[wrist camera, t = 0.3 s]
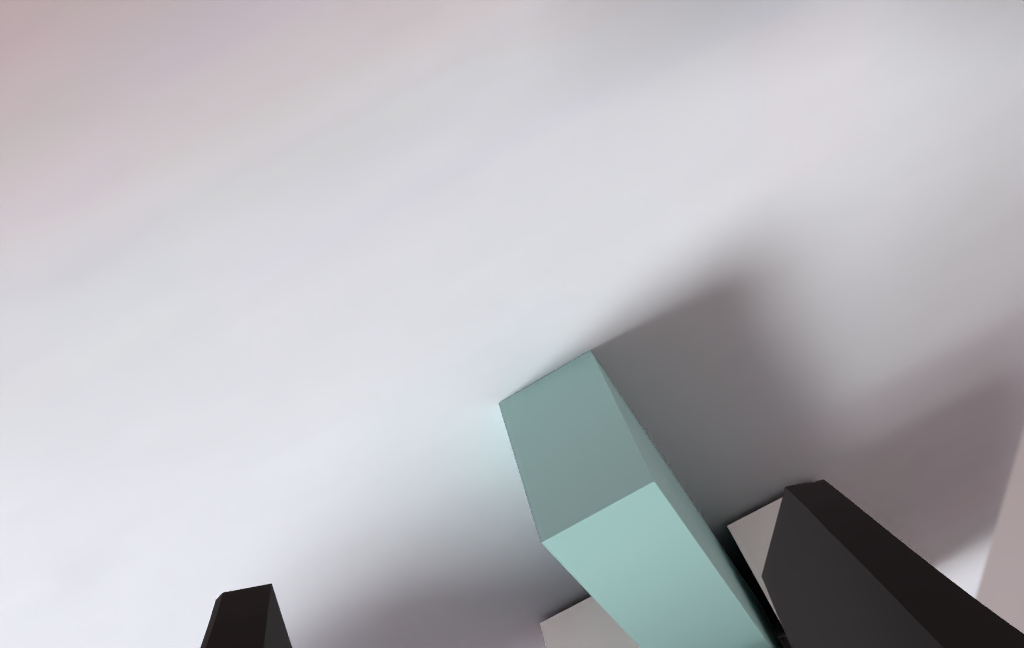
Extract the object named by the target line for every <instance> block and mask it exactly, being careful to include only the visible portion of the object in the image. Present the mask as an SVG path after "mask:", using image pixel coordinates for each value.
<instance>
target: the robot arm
mask: <svg viewBox="0 0 1024 648" xmlns="http://www.w3.org/2000/svg"><path fill="white" fill-rule="evenodd" d="M761 577H762V579H763V581H764V584H765V586H766V589H767V591H768V594H769V596H770V599H771V601H772V603H773V606H774V608H775V611H776V613H777V615H778V618H779V620H780V622H781V625H782V627H783V629H784V631H785V634H786V636H787V638H788V640H789V643H790V645H791V647H792V648H1024V634H1023V633H1022V632H1020V631H1019V630H1017V629H1016V628H1014V627H1013V626H1011V625H1010V624H1009V623H1007V622H1006V621H1005V620H1003V619H1002V618H1000V617H999V616H998V615H996V614H995V613H994V612H992V611H991V610H990V609H988V608H987V607H985V606H984V605H982V604H981V603H980V602H979V601H977V600H976V599H975V598H973V597H972V596H971V595H969V594H968V593H967V592H965V591H964V590H963V589H962V588H960V587H959V586H958V585H956V584H955V583H954V582H952V581H951V580H950V579H948V578H947V577H946V576H944V575H943V574H942V573H941V572H939V571H938V570H937V569H935V568H934V567H933V566H932V565H930V564H929V563H928V562H926V561H925V560H924V559H923V558H921V557H920V556H919V555H918V554H916V553H915V552H914V551H913V550H911V549H910V548H909V547H907V546H906V545H905V544H904V543H902V542H901V541H900V540H899V539H897V538H896V537H895V536H894V535H892V534H891V533H890V532H889V531H887V530H886V529H885V528H884V527H882V526H881V525H880V524H879V523H877V522H876V521H875V520H874V519H873V518H871V517H870V516H869V515H868V514H866V513H865V512H864V511H863V510H861V509H860V508H859V507H858V506H856V505H855V504H854V503H853V502H851V501H850V500H849V499H848V498H846V497H845V496H844V495H843V494H841V493H840V492H839V491H838V490H836V489H835V488H834V487H833V486H831V485H830V484H829V483H828V482H826V481H825V480H819V481H814V482H809V483H804V484H798V485H793V486H788V487H785V489H784V493H783V497H782V501H781V504H780V508H779V512H778V516H777V519H776V523H775V527H774V531H773V534H772V538H771V542H770V546H769V550H768V553H767V557H766V561H765V565H764V568H763V572H762V576H761ZM201 648H292V646H291V643H290V640H289V637H288V633H287V630H286V627H285V624H284V621H283V618H282V615H281V611H280V608H279V605H278V602H277V599H276V596H275V592H274V589H273V586H272V584H267V585H261V586H256V587H251V588H245V589H240V590H235V591H229V592H224V593H222V594H221V595H220V596H219V597H218V598H217V599H216V601H215V605H214V608H213V611H212V615H211V618H210V621H209V624H208V627H207V630H206V633H205V636H204V639H203V642H202V645H201Z"/></svg>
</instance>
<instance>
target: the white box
mask: <svg viewBox="0 0 1024 648" xmlns="http://www.w3.org/2000/svg"><path fill="white" fill-rule="evenodd" d="M814 481H816V480H814ZM814 481H812V482H814ZM781 501H782V498H780V499H778V500H776V501H774V502H772V503H770V504H768V505H766V506H764V507H762V508H760V509H759V510H757V511H755V512H753V513H751V514H749V515H747V516H745V517H743V518H741V519H739V520H737V521H735V522H734V523H732V524H730V525H728V526H727V527H728V529H729V530H730V532H731V534H732V536H733V538H734V540H735V541H736V543H737V545H738V547H739V549H740V550H741V552H742V554H743V556H744V558H745V559H746V561H747V563H748V565H749V567H750V568H751V570H752V572H753V574H754V576H755V578H756V579H757V581H758V583H759V585H760V587H761V588H762V590H763V592H764V594H765V596H766V597H767V599H768V601H769V603H770V605H771V607H772V608H773V610H774V612H775V614H776V616H777V617H778V615H777V613H776V611H775V608H774V606H773V603H772V601H771V599H770V596H769V594H768V591H767V589H766V586H765V584H764V581H763V579H762V577H761V576H762V572H763V568H764V565H765V561H766V557H767V553H768V550H769V546H770V542H771V538H772V534H773V531H774V527H775V523H776V519H777V516H778V512H779V508H780V504H781ZM778 619H779V618H778ZM779 621H780V620H779ZM780 623H781V622H780ZM540 627H541V631H542V634H543V638H544V642H545V645H546V648H640V647H639V646H638V645H637V644H636V642H635V641H634V640H633V639H632V638H631V637H630V636H629V635H628V634H627V633H626V632H625V631H624V630H623V629H622V628H621V627H620V626H619V625H618V623H617V622H616V621H615V620H614V619H613V618H612V617H611V616H610V615H609V614H608V613H607V612H606V611H605V610H604V609H603V608H602V607H601V606H600V605H599V603H598V602H597V601H596V600H595V599H594V598H593V597H592V596H591V597H589V598H587V599H585V600H583V601H581V602H580V603H578V604H576V605H574V606H572V607H570V608H568V609H566V610H564V611H562V612H560V613H558V614H556V615H554V616H553V617H551V618H549V619H547V620H545V621H543V622H541V623H540ZM779 640H780V642H781V644H782V645H783V647H784V648H792V647H791V645H790V643H789V640H788V638H787V636H786V635H784V636H782V637H780V638H779Z"/></svg>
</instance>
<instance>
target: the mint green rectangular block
mask: <svg viewBox="0 0 1024 648" xmlns="http://www.w3.org/2000/svg"><path fill="white" fill-rule="evenodd" d="M499 406H500V410H501V413H502V416H503V420H504V423H505V426H506V429H507V433H508V436H509V439H510V443H511V446H512V449H513V452H514V456H515V459H516V462H517V466H518V469H519V472H520V475H521V479H522V482H523V485H524V489H525V492H526V495H527V498H528V502H529V505H530V508H531V512H532V515H533V518H534V521H535V525H536V528H537V531H538V535H539V538H540V541H541V543H542V544H543V545H544V547H545V548H546V549H547V550H548V551H549V552H550V553H551V554H552V555H553V556H554V557H555V558H556V559H557V560H558V561H559V562H560V563H561V564H562V566H563V567H564V568H565V569H566V570H567V571H568V572H569V573H570V574H571V575H572V576H573V577H574V578H575V579H576V580H577V581H578V582H579V583H580V584H581V586H582V587H583V588H584V589H585V590H586V591H587V592H588V593H589V594H590V595H591V596H592V597H593V598H594V599H595V600H596V601H597V602H598V603H599V605H600V606H601V607H602V608H603V609H604V610H605V611H606V612H607V613H608V614H609V615H610V616H611V617H612V618H613V619H614V620H615V621H616V622H617V623H618V625H619V626H620V627H621V628H622V629H623V630H624V631H625V632H626V633H627V634H628V635H629V636H630V637H631V638H632V639H633V640H634V641H635V642H636V644H637V645H638V646H639V647H640V648H784V647H783V645H782V644H781V642H780V640H779V638H778V636H777V634H776V632H775V631H774V629H773V627H772V625H771V623H770V621H769V619H768V618H767V616H766V614H765V612H764V610H763V608H762V607H761V605H760V603H759V601H758V600H757V598H756V597H755V595H754V594H753V592H752V591H751V589H750V588H749V586H748V585H747V583H746V582H745V580H744V579H743V577H742V576H741V574H740V573H739V571H738V570H737V568H736V567H735V565H734V564H733V562H732V561H731V559H730V558H729V556H728V555H727V553H726V552H725V550H724V549H723V547H722V546H721V544H720V543H719V541H718V540H717V538H716V537H715V535H714V534H713V532H712V531H711V529H710V528H709V526H708V525H707V523H706V522H705V520H704V519H703V518H702V516H701V515H700V513H699V512H698V510H697V509H696V507H695V506H694V504H693V503H692V501H691V500H690V498H689V497H688V495H687V494H686V492H685V491H684V489H683V488H682V486H681V485H680V483H679V482H678V480H677V479H676V477H675V476H674V474H673V473H672V471H671V470H670V468H669V467H668V465H667V464H666V462H665V461H664V459H663V458H662V456H661V455H660V453H659V452H658V450H657V449H656V447H655V446H654V444H653V443H652V441H651V440H650V438H649V437H648V435H647V434H646V432H645V431H644V429H643V428H642V426H641V425H640V423H639V422H638V420H637V419H636V417H635V416H634V414H633V413H632V411H631V410H630V408H629V407H628V405H627V404H626V402H625V401H624V399H623V398H622V397H621V395H620V394H619V392H618V391H617V389H616V388H615V386H614V385H613V383H612V382H611V380H610V379H609V377H608V376H607V374H606V373H605V371H604V370H603V368H602V367H601V365H600V364H599V362H598V361H597V359H596V358H595V356H594V355H593V353H592V352H591V350H589V351H588V352H586V353H584V354H583V355H581V356H579V357H577V358H576V359H574V360H572V361H570V362H569V363H567V364H565V365H564V366H562V367H560V368H558V369H557V370H555V371H553V372H551V373H550V374H548V375H546V376H545V377H543V378H541V379H539V380H538V381H536V382H534V383H532V384H531V385H529V386H527V387H525V388H524V389H522V390H520V391H519V392H517V393H515V394H513V395H512V396H510V397H508V398H506V399H505V400H503V401H501V402H500V403H499Z"/></svg>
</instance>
